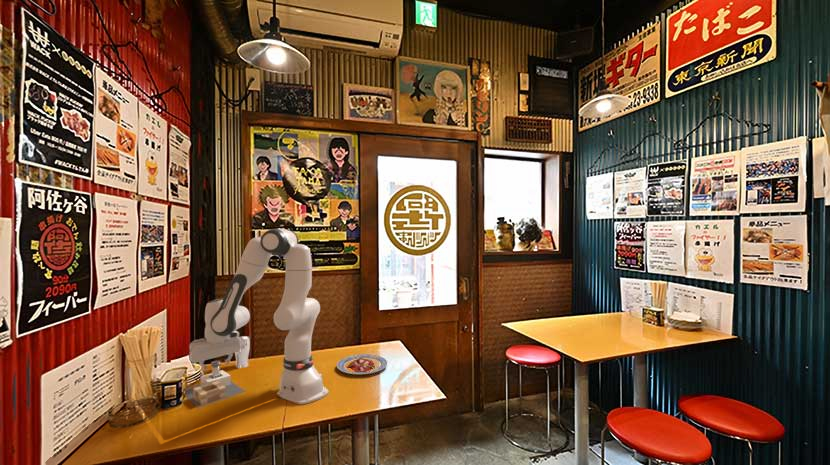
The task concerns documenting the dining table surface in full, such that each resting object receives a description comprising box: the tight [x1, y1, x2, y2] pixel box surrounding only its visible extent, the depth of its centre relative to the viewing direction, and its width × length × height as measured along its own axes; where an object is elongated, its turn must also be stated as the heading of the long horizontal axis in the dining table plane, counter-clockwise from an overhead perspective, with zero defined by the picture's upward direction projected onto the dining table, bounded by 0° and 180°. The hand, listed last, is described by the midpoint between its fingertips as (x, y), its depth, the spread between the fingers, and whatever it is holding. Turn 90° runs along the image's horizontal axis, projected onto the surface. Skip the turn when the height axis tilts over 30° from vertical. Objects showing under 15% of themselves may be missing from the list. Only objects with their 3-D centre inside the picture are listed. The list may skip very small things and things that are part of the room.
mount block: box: [193, 381, 226, 405], centre depth 138 cm, size 9×9×4 cm
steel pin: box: [210, 360, 222, 379], centre depth 150 cm, size 4×4×10 cm
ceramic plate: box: [336, 353, 388, 375], centre depth 174 cm, size 26×26×3 cm
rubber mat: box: [183, 380, 246, 409], centre depth 144 cm, size 22×18×1 cm
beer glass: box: [234, 335, 251, 369], centre depth 171 cm, size 7×7×15 cm
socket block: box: [200, 369, 232, 386], centre depth 150 cm, size 9×9×4 cm
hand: (216, 366), depth 150 cm, fingers open, 8 cm apart
